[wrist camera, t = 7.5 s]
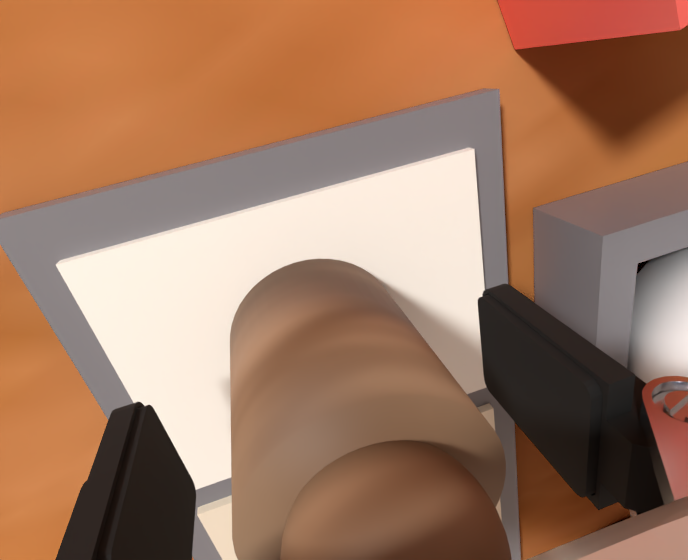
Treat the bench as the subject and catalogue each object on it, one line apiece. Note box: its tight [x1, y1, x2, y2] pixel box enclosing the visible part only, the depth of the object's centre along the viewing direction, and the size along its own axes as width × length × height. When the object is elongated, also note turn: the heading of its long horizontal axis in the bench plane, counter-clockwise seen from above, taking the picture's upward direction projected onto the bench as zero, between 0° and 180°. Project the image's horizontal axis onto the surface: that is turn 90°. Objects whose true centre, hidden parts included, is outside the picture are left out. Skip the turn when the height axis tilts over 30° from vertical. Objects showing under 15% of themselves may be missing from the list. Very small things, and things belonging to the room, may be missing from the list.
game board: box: [0, 89, 521, 560], centre depth 18 cm, size 13×30×1 cm, turn 13°
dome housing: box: [533, 162, 688, 368], centre depth 16 cm, size 10×10×3 cm
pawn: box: [230, 259, 512, 560], centre depth 9 cm, size 5×5×9 cm
